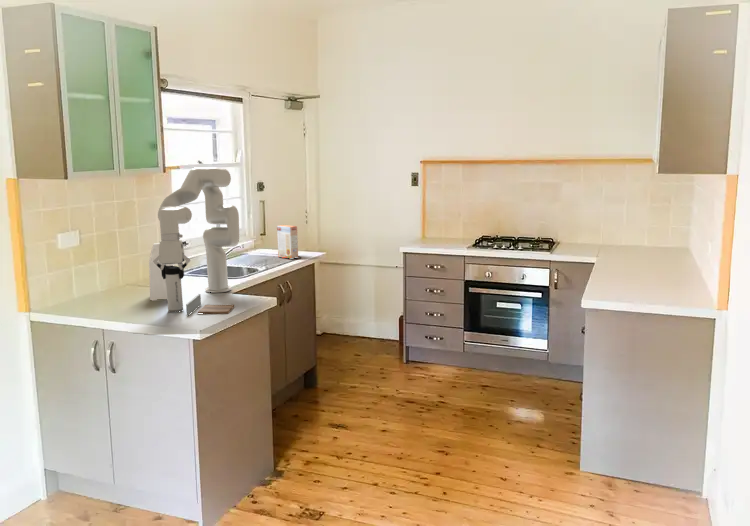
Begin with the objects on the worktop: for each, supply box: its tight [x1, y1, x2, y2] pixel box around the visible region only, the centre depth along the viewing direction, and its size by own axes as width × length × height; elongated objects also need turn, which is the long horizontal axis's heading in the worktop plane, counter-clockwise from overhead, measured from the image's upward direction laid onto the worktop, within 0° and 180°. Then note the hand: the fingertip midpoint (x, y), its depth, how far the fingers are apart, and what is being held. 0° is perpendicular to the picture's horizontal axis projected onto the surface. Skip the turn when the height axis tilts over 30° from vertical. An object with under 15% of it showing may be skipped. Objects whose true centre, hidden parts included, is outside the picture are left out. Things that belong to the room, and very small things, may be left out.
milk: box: [148, 242, 175, 301], centre depth 319 cm, size 12×12×26 cm
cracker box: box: [276, 224, 299, 259], centre depth 427 cm, size 14×6×21 cm, turn 44°
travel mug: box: [164, 265, 184, 313], centre depth 291 cm, size 6×7×20 cm
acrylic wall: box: [185, 293, 202, 316], centre depth 293 cm, size 20×1×5 cm, turn 0°
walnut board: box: [197, 303, 235, 315], centre depth 293 cm, size 13×13×1 cm
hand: (173, 278), depth 290 cm, fingers closed on travel mug, 6 cm apart
